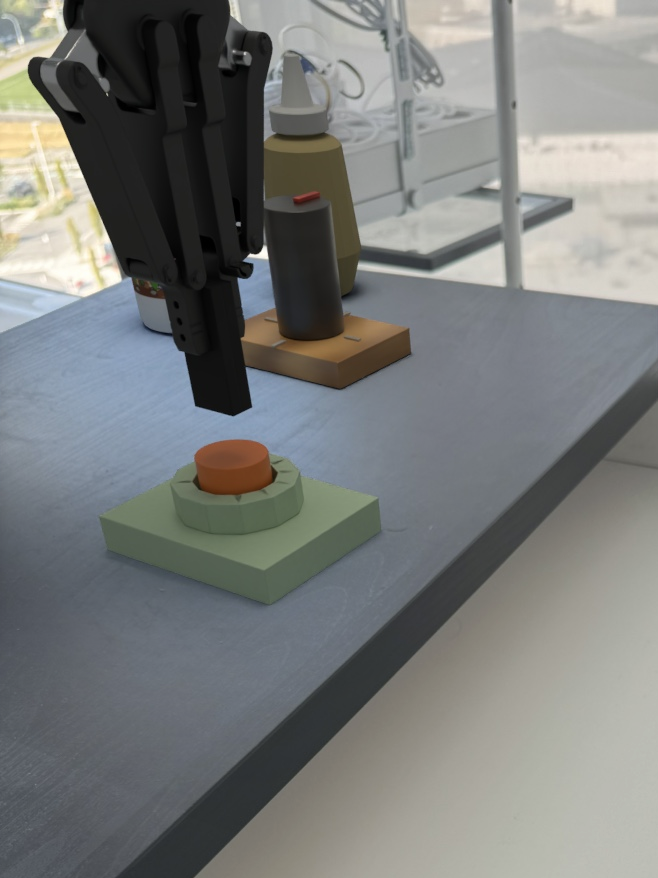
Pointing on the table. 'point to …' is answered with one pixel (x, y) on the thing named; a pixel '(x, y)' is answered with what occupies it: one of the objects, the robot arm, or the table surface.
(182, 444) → the table surface
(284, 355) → the panel
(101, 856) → the table surface
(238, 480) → the push button
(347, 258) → the squeeze bottle
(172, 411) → the table surface
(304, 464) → the table surface
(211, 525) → the green button base
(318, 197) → the knob
